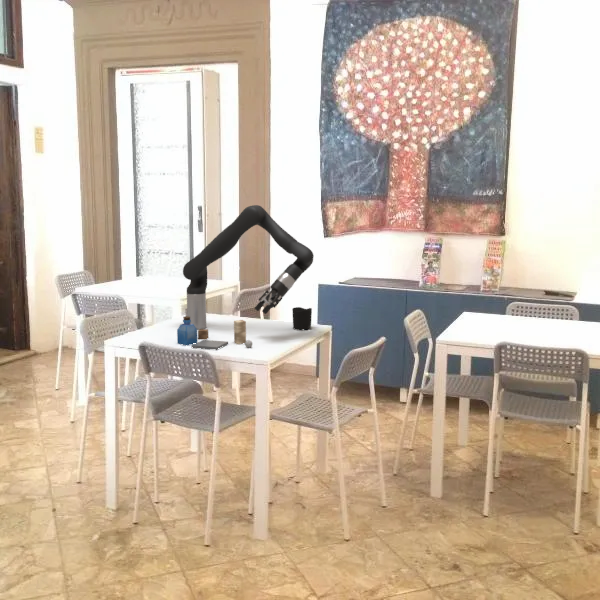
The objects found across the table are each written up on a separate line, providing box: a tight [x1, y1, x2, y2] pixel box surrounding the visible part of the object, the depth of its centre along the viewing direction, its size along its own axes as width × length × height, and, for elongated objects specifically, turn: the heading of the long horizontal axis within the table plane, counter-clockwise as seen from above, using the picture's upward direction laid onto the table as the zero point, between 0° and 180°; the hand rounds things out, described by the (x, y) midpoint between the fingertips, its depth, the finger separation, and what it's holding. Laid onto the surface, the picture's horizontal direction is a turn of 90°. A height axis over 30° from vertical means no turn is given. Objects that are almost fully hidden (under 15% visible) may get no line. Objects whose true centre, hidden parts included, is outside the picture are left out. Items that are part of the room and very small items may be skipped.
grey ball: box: [244, 339, 253, 348], centre depth 318 cm, size 3×3×3 cm
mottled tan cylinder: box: [233, 319, 247, 345], centre depth 326 cm, size 4×4×10 cm
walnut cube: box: [197, 328, 209, 340], centre depth 337 cm, size 4×4×4 cm
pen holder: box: [291, 306, 313, 330], centre depth 359 cm, size 9×9×10 cm
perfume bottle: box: [176, 315, 198, 346], centre depth 326 cm, size 6×6×12 cm
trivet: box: [190, 339, 229, 350], centre depth 321 cm, size 12×12×1 cm
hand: (259, 311), depth 329 cm, fingers open, 8 cm apart
